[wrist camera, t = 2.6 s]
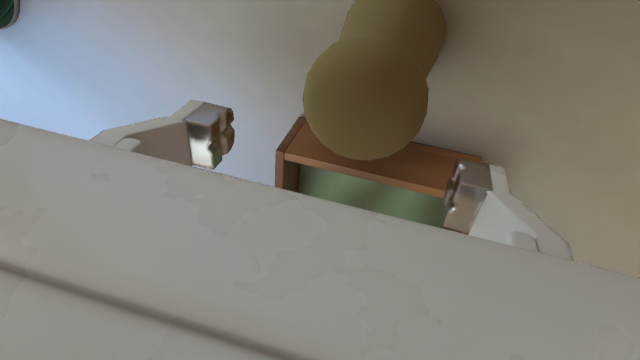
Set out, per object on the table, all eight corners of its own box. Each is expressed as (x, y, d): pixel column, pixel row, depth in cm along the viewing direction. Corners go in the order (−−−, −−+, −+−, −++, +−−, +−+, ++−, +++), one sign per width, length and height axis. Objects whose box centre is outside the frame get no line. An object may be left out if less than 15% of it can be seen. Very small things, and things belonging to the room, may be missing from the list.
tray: (481, 157, 26) (485, 200, 23) (411, 319, 39) (407, 364, 35) (298, 116, 28) (275, 150, 25) (288, 282, 41) (272, 321, 37)
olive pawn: (461, 57, 23) (463, 155, 14) (372, 97, 26) (331, 198, 18) (418, -43, 21) (392, 5, 12) (326, 14, 24) (253, 85, 15)
